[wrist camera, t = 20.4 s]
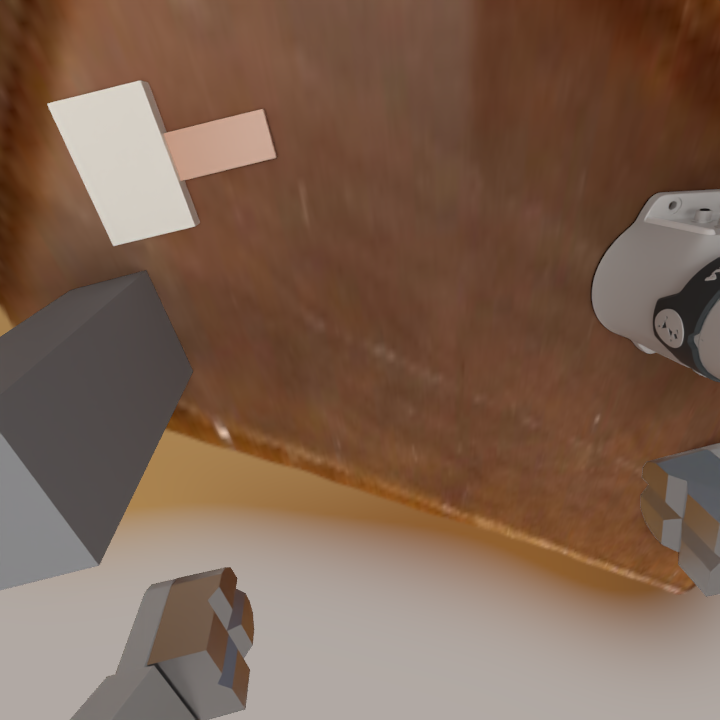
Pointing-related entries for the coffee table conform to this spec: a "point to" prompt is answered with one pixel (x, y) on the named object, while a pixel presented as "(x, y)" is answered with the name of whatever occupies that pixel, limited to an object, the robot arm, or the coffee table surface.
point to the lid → (150, 157)
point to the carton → (81, 422)
